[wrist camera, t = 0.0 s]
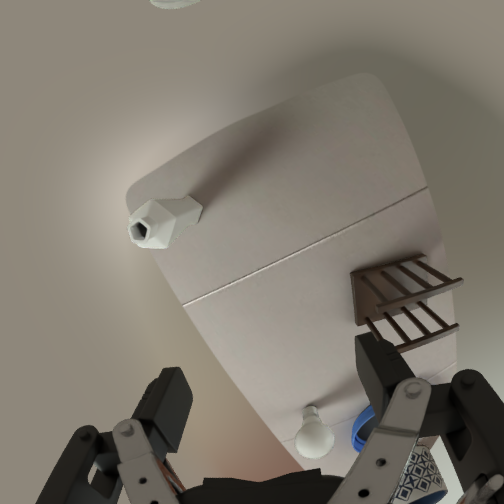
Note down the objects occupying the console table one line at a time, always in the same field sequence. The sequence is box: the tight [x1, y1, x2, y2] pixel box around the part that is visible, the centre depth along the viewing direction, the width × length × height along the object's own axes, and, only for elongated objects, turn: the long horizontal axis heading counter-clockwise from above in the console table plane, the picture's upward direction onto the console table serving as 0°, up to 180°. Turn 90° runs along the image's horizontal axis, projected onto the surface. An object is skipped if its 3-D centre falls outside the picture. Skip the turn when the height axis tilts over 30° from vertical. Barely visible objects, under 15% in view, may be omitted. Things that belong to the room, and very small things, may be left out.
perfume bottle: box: [127, 196, 203, 249], centre depth 28 cm, size 5×4×15 cm
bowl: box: [352, 405, 379, 453], centre depth 42 cm, size 18×18×4 cm
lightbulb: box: [294, 406, 335, 459], centre depth 37 cm, size 6×6×11 cm
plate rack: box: [350, 254, 464, 353], centre depth 32 cm, size 12×8×10 cm, turn 103°
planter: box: [391, 446, 448, 504], centre depth 41 cm, size 18×18×16 cm
